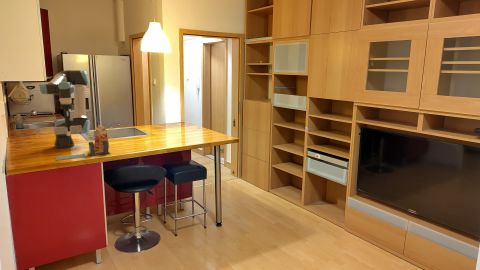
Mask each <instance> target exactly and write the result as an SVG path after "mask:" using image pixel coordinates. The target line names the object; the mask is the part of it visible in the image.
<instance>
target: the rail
mask: <svg viewBox="0 0 480 270" xmlns="http://www.w3.org/2000/svg"><path fill="white" fill-rule="evenodd" d="M70 128H71V133H82V126H81V125H78V126H70ZM53 131H54V135H55V136H56V135H58V134H67V131H66V127H65V126H63V127H53Z"/></svg>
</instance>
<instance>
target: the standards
mask: <svg viewBox="0 0 480 270" xmlns="http://www.w3.org/2000/svg"><path fill="white" fill-rule="evenodd" d="M102 143H103V150H102V151H97V152H96V150H95V148H94V144H95V142H93V141H89V142H88V151H89V152H88V153H87V155H88V156H89V157H96V156H104V155H105V156H106V155H111V152H110V151H109V149H108V142H107V141H102Z"/></svg>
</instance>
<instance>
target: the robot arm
mask: <svg viewBox="0 0 480 270" xmlns="http://www.w3.org/2000/svg"><path fill="white" fill-rule="evenodd" d="M39 85H40V87H39V91H40V93H41V94H42V95H59V96H58V97H59V99H58V101H59V102H60V107H59V108H60V110H63V117H64V118H61V119H57V120H55V121H54V127H63V126H65V127H66V131H67V134H58V135H55V140H54V144H53V146H54V148H55V149H68V148H73V147H74V146H75V142H74V139H73V138H72V135H84V134H88V133H89V132H90V129H91V120H90V119H89V118H88V116H87V113H86V111H87V110H86V89H87V87H88V85H90V77H89V74H88V73H87V71H86V70H79V69H78V70H69V69H67V70H61V71H59V72H57V73H56V74H55V75H54V77H53V78H52V79H50V81H49V82H47V83H42V84H39ZM72 94H73V101H74V104H72V102H73V101H72ZM73 105H74V109H73ZM71 109H73V110H74V116H73V117H72V119H71V112H70V110H71ZM78 125H81V126H82V133H71V128H70V126H78ZM54 127H53V128H54Z"/></svg>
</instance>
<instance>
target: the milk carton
mask: <svg viewBox="0 0 480 270" xmlns="http://www.w3.org/2000/svg"><path fill="white" fill-rule="evenodd" d="M94 136H95V137H94V148H95V151H103V143H102V141H107V142H108V150H109V149H110V142H109V136H108V132H107V129H106V128H105V127H104V126H102V125H99V124H98V126H97V127H96V128H95V135H94Z"/></svg>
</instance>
